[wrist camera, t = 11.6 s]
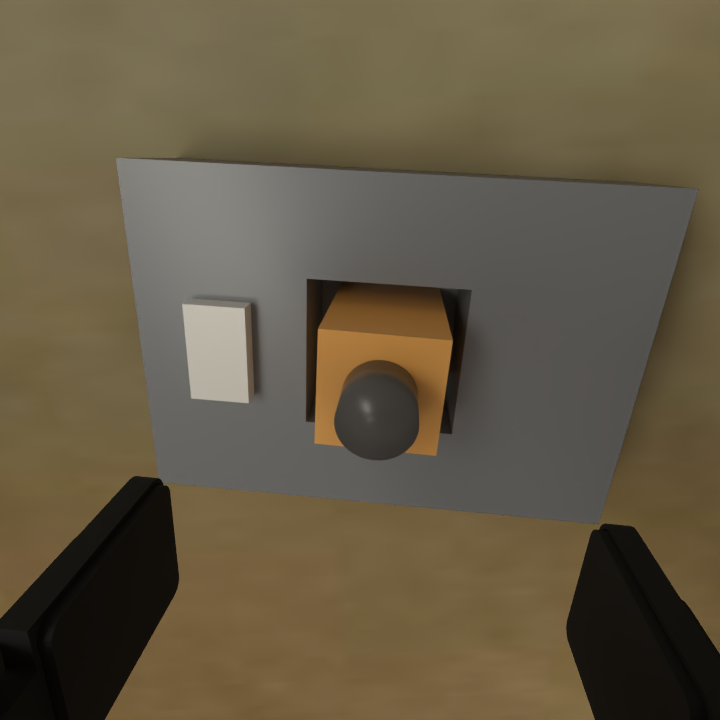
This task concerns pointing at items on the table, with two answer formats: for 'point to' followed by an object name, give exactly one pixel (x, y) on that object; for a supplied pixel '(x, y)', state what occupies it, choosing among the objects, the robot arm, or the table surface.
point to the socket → (398, 267)
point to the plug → (382, 370)
